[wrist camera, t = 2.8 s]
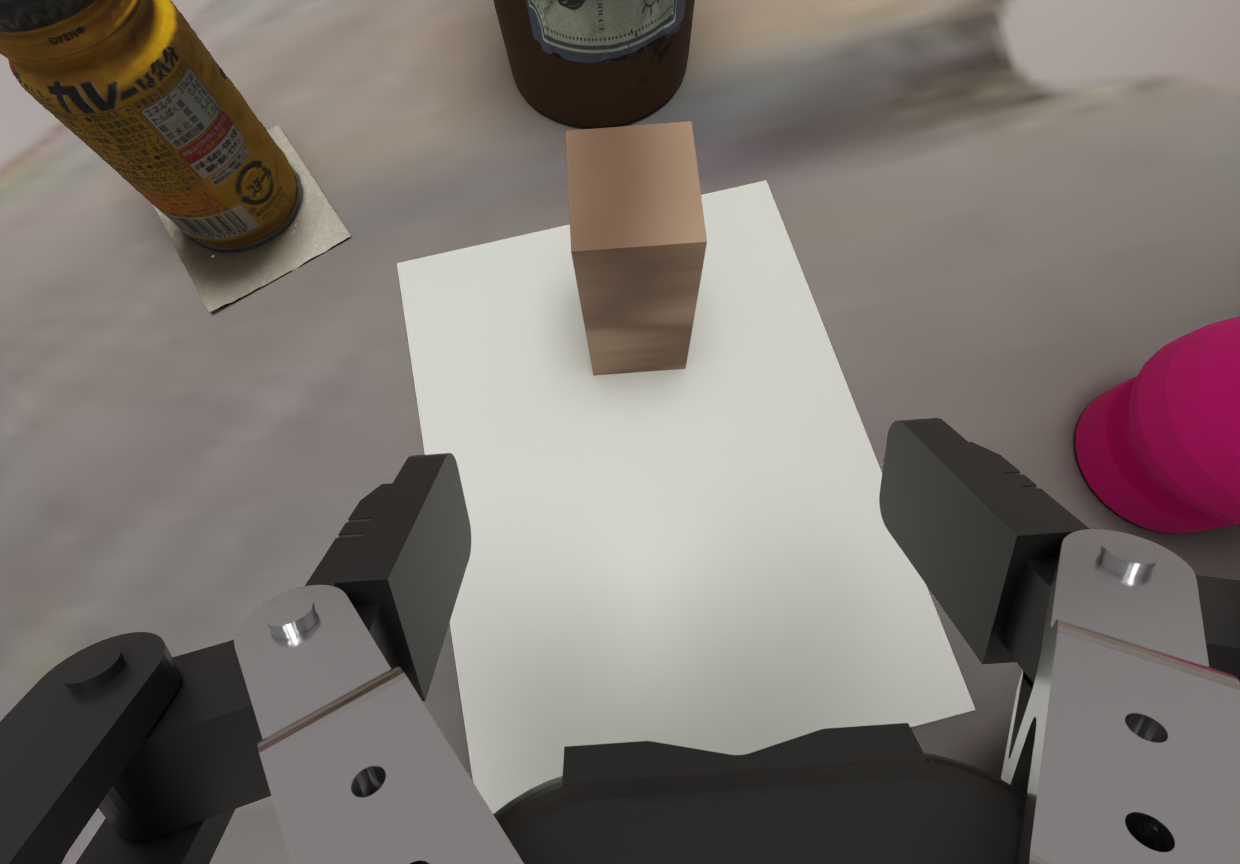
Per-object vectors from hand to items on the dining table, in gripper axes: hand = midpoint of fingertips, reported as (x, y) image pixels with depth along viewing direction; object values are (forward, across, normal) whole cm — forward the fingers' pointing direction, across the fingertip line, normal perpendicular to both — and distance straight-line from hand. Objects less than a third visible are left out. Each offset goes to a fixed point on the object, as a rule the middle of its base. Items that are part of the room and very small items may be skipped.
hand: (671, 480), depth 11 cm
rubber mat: (+13, 0, +7) cm, 14 cm away
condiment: (+23, +19, -3) cm, 30 cm away
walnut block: (+17, 0, +2) cm, 17 cm away
